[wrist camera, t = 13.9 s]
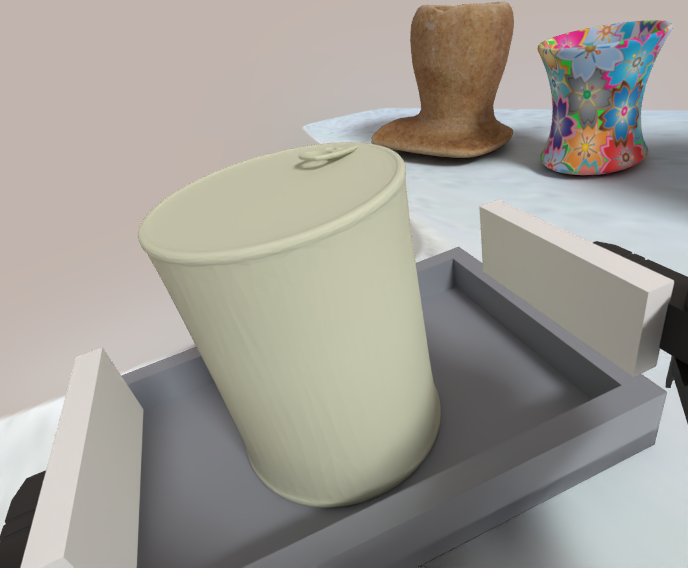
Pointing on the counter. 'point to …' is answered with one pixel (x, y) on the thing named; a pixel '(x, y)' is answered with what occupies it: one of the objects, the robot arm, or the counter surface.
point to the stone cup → (455, 81)
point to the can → (307, 315)
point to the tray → (432, 474)
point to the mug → (599, 95)
